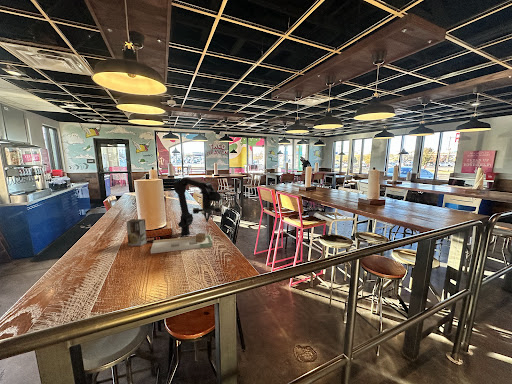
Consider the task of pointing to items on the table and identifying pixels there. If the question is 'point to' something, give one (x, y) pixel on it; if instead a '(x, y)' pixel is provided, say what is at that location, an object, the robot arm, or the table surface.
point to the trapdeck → (179, 244)
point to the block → (200, 237)
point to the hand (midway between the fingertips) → (207, 221)
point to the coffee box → (136, 232)
